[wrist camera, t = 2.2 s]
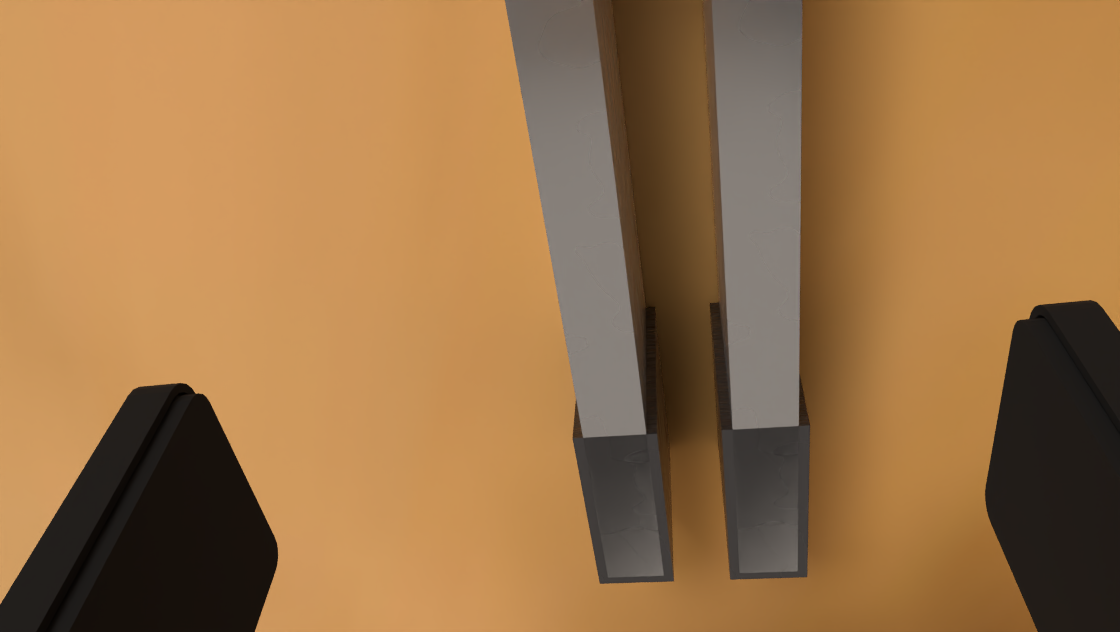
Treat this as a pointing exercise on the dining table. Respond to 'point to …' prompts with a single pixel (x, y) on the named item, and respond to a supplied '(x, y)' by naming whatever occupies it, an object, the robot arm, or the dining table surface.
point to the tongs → (618, 293)
